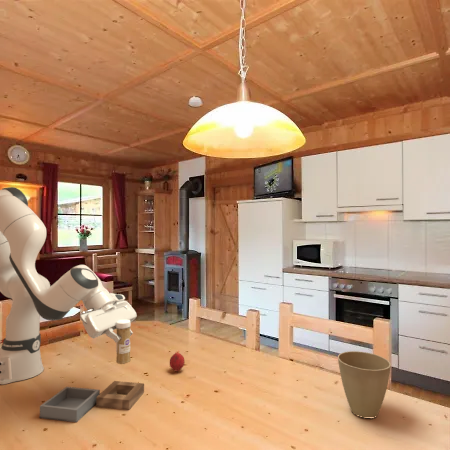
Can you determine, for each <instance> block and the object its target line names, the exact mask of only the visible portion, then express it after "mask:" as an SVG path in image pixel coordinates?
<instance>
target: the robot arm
mask: <svg viewBox="0 0 450 450" xmlns="http://www.w3.org/2000/svg"><path fill="white" fill-rule="evenodd" d="M46 239H47V228H46V226H45V224H44V222H43V221H42V220H41V218H40V217H39V216H38V214H36V213H35V212H34V210H32V209H31V208H30V207H29V202H28V199H27V197H26V195H25V194H24V192H23V191H22V190H21V189H19V188H17V187H14V186H11V187H10V186H9V187H3V188H2V189H0V293H1V294H2V295H3V296H4V297H6V298H8V299H12V302H11V307H10V311H9V313H8V315H7V316H6V318H5V337H4V338H3V339H0V344H1V347H0V385H8V384H11V383H14V382H19V381H24V380H28V379H31V378H33V377H36V376H38V375H40V374H41V373H43V372H44V369H45V367H44V365H43V362H42V361H43V360H42V357H41V356H42V354H41V349H40V347H41V344H42V343H41V342H42V339H41V338H42V337H41V336H42V335H41V333H40V323H41V322H40V321H41V318H42V319H44V320H46V321H60V320H62V319H63V318H64V317H65V316H66V315H67V314H68V313H69V312H70V310H71V309H73V308H74V307H75V306H76V305H77V304H78V303H79V302H81V301H82V303H83V306H84V308H85V310H82V311H81V313H80V315H79V319H80V321H81V322H82V325H83V327H84V330H85V331H86V333H87V335H88V336H89V337H90V338H91V339H95V338H98V337H100V336H103V335H106V336H107V337H109V339H112V340H113V342H114V343H115V344H116V343H117V342H119V341H120V340H121V339H122V338H121V337H120V335H119V334H118V335H117V332H114V331H115V330H117V329H116V322H117V321H119V320H130V322H131V323H133V321H134V320H136V318H137V316H138V315H137V312H136V310H135V309H134V308H133V307H132V305H131V304H130V303H129V302H128V301H127V300H126V297H125V295H123V294H121V293H120V294H119V293H118V294H117V293H113V292H110V291H109V290H108V289H107V288H105V287H104V285H103V283H102V280H101V279H100V278H99V277H98V275H96V273H95V272H94V271H93V270H92V269H91V268H90V267H89V266H87V265H85V264H79V265H75V266H73V267H71V268H70V270H67V272H66V273H64V274H63V275H62V276H60V278H59V279H58V280H56V281H55V282H54V283H53V284H52V285H51V284H50V283H51V282H50V281H49V280H48V279H47V277H45V276H43V275H41V274H40V273H38V272H37V269H36V261H37V258H38V255H39V252H40V251H41V250H42V248H43V247H44V244H45V242H46ZM40 317H41V318H40ZM133 334H134V332H133V331H132V330H131V328H130V337H131V336H132V335H133Z"/></svg>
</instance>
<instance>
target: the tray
mask: <svg viewBox="0 0 450 450" xmlns="http://www.w3.org/2000/svg"><path fill="white" fill-rule="evenodd" d="M100 393H101V392H100V389H98V388H96V389H95V388H85V387H74V386H65V387H63V389H61V390H59V391H58V392H57V393H55V394H54V395H53V396H52V397H50V398H49V399H47V400H46V401H45V402H43V403H42V404H41V405H39V419H44V420H53V421H61V422H70V423H71V422H73V423H78V422H79V421H80V420H81V419H82V418H83V417H85V415H86V414H87V413H88V412H90V410H92V409H93V408H94V407H95V406H96V398H97V396H98V395H99V394H100Z"/></svg>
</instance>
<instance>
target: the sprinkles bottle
mask: <svg viewBox="0 0 450 450" xmlns="http://www.w3.org/2000/svg"><path fill="white" fill-rule="evenodd" d="M131 323H132V322H130V320H119V321H117V322H116V329H115V330H116V334H117V335H118V334H119V335H120V337H121V338H122V339H121V340H120V341H119V342H117V343H116V342H115V344H116V350H115V351H116V360H115V361H116V363H117V364H119V365H125V364H128V363H130V362H131V336H130V329H131Z"/></svg>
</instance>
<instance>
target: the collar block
mask: <svg viewBox="0 0 450 450" xmlns="http://www.w3.org/2000/svg"><path fill="white" fill-rule="evenodd" d="M144 392H145V384H144V382H143V383H141V382H131V381H120V380H119V381H118V380H114V381H112V382H111V383H110V384H109V385H108V386H107V387H106V388H105V389H104V390H102V391H101V392H100V394H99V395H98V396H97V398H96V405H95V407H96V408H97V407H98V408H104V409H105V408H106V409H114V410H115V409H116V410H124V411H131V409H132V407H133V406H134V405H135V404H136V403H137V401H138V400H139V399H140V398H141V397H142V395H144Z"/></svg>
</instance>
